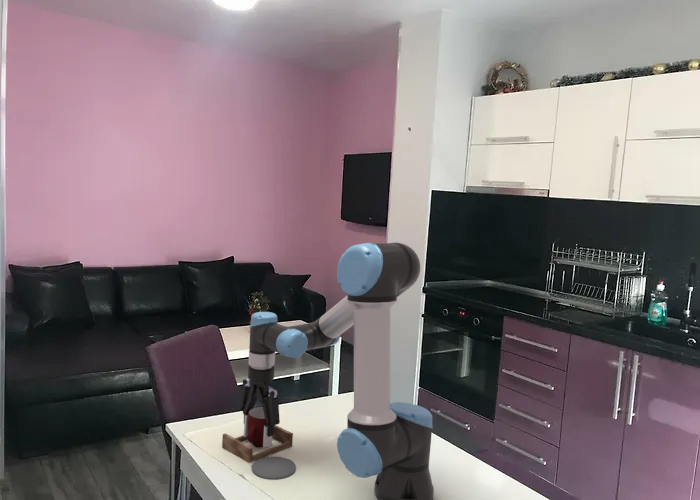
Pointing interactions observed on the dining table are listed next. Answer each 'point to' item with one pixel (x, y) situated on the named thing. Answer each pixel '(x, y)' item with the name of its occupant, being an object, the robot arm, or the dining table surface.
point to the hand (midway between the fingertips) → (257, 440)
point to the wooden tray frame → (246, 451)
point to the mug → (256, 427)
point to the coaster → (273, 467)
